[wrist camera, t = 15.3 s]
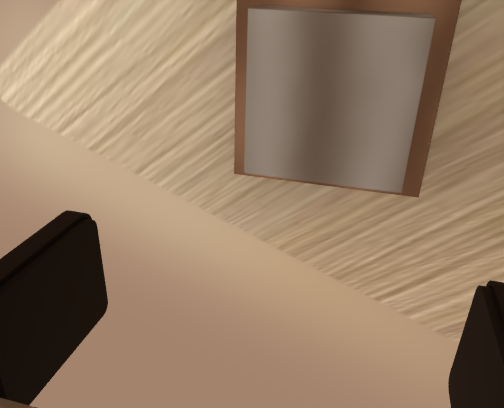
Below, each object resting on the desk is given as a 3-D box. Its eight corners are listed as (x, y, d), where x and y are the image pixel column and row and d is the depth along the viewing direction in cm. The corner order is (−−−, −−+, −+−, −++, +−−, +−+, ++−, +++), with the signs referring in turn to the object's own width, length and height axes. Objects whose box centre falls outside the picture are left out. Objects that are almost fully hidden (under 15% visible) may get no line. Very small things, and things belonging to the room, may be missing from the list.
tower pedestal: (460, -15, 27) (473, -13, 23) (417, 188, 33) (422, 217, 29) (243, -24, 29) (222, -23, 26) (239, 166, 35) (222, 190, 31)
